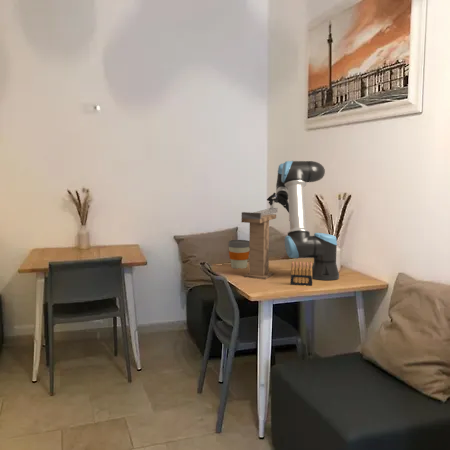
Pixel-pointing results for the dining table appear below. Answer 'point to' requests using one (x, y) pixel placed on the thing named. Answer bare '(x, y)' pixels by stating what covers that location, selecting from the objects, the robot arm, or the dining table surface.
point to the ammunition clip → (305, 275)
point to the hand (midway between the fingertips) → (281, 214)
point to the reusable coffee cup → (239, 253)
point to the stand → (258, 244)
